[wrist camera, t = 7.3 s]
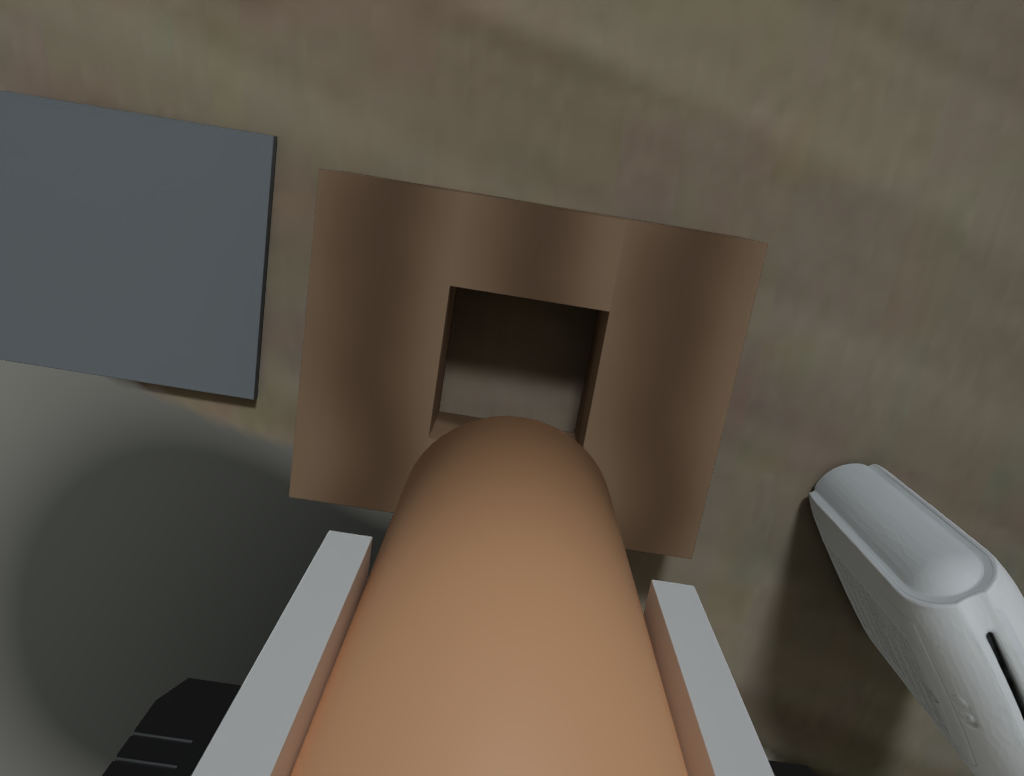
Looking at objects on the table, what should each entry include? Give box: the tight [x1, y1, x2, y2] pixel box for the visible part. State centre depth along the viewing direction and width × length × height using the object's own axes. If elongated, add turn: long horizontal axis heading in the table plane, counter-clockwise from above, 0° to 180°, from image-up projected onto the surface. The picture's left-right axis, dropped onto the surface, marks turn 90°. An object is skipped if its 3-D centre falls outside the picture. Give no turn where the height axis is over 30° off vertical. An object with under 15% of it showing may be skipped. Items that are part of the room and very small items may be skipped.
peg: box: [291, 416, 688, 776], centre depth 12 cm, size 5×5×12 cm
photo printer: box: [809, 463, 1024, 776], centre depth 32 cm, size 10×4×12 cm, turn 27°
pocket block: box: [289, 169, 768, 559], centre depth 34 cm, size 18×14×4 cm
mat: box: [0, 91, 277, 400], centre depth 35 cm, size 12×12×1 cm
